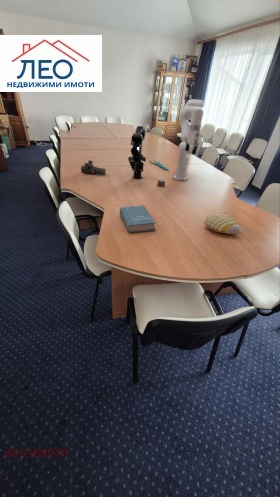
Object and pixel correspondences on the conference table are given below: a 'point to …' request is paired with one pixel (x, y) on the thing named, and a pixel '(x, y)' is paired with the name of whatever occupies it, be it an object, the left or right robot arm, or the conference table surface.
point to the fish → (223, 224)
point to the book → (137, 219)
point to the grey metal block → (161, 183)
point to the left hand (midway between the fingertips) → (135, 172)
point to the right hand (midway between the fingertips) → (190, 152)
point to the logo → (159, 164)
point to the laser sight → (92, 169)
